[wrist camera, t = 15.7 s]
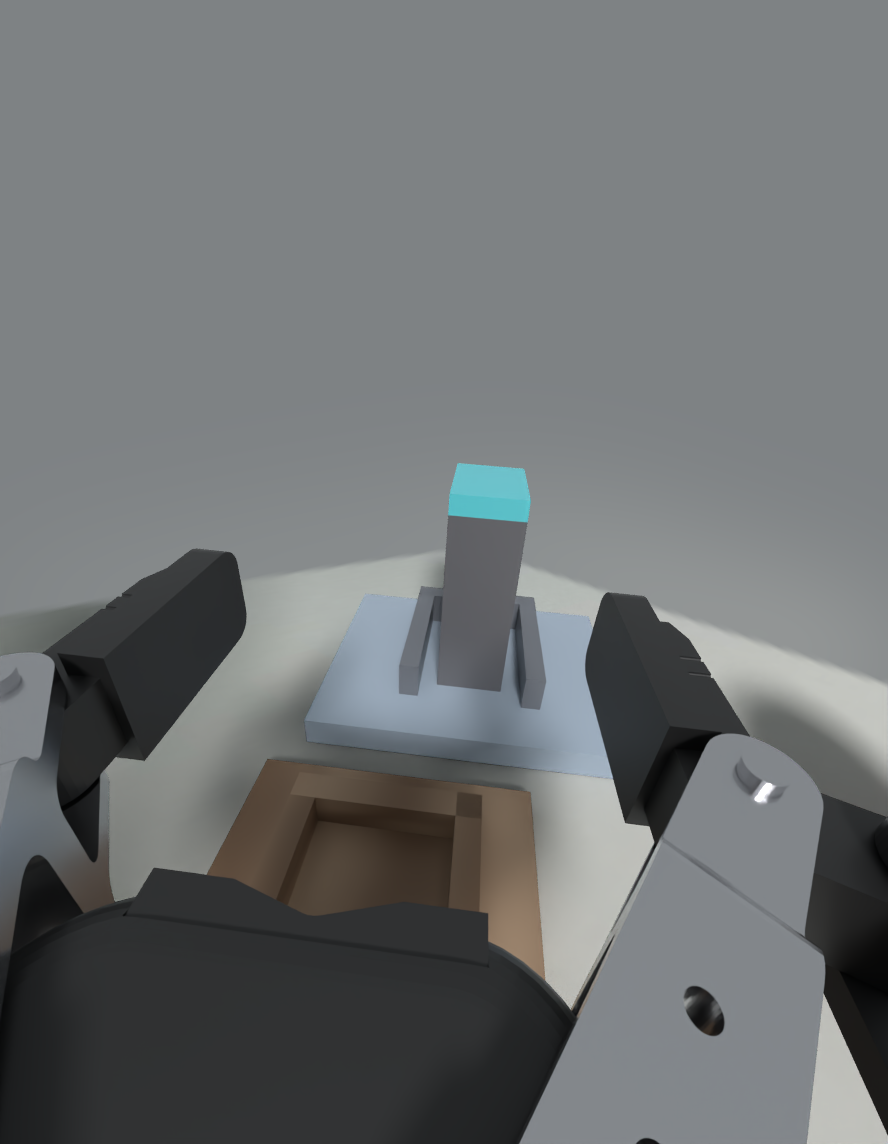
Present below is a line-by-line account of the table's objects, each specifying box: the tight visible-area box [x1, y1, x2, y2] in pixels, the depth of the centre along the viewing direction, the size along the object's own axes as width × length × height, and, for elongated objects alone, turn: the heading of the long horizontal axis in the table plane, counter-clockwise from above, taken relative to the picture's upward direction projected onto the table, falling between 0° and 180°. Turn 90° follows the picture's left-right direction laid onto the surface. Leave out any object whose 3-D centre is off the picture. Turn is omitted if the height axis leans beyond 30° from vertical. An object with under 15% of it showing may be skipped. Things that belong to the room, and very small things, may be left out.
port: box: [304, 586, 613, 779], centre depth 27 cm, size 16×12×4 cm
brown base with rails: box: [207, 759, 545, 980], centre depth 15 cm, size 12×12×2 cm
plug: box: [437, 463, 531, 692], centre depth 24 cm, size 4×5×11 cm
